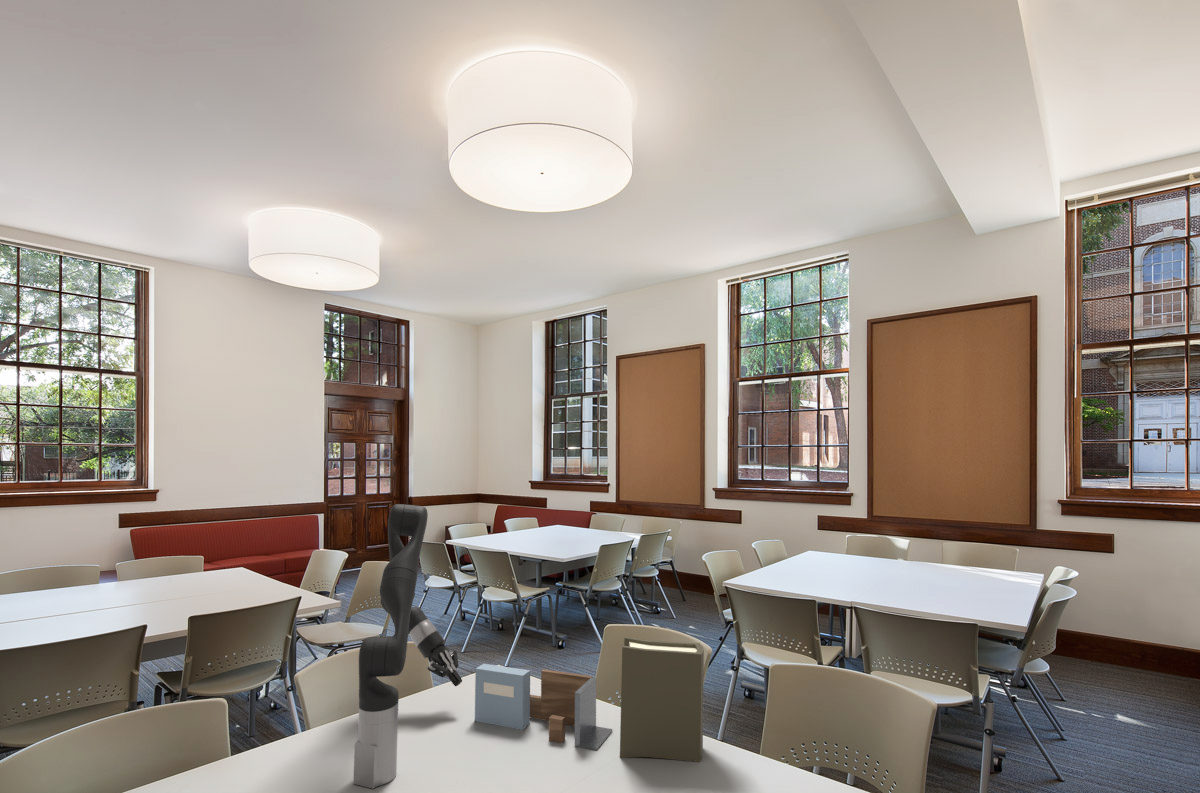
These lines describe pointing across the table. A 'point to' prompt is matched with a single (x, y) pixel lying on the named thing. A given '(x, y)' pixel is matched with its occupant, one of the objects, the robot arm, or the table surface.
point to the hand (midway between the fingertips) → (459, 683)
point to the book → (662, 700)
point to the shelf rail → (557, 701)
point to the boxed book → (502, 696)
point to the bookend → (588, 718)
